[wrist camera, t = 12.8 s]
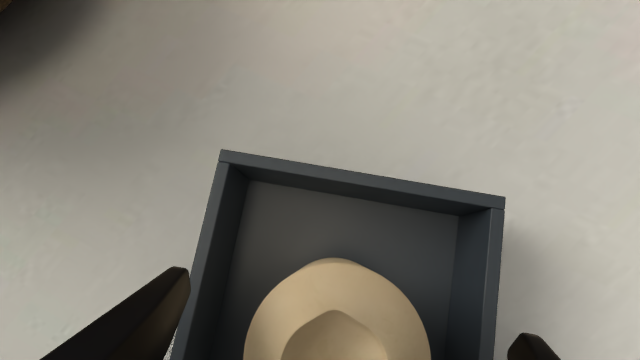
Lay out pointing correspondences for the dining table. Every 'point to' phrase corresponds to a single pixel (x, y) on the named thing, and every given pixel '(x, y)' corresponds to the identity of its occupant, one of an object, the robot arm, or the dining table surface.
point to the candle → (336, 317)
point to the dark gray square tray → (341, 250)
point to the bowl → (4, 4)
